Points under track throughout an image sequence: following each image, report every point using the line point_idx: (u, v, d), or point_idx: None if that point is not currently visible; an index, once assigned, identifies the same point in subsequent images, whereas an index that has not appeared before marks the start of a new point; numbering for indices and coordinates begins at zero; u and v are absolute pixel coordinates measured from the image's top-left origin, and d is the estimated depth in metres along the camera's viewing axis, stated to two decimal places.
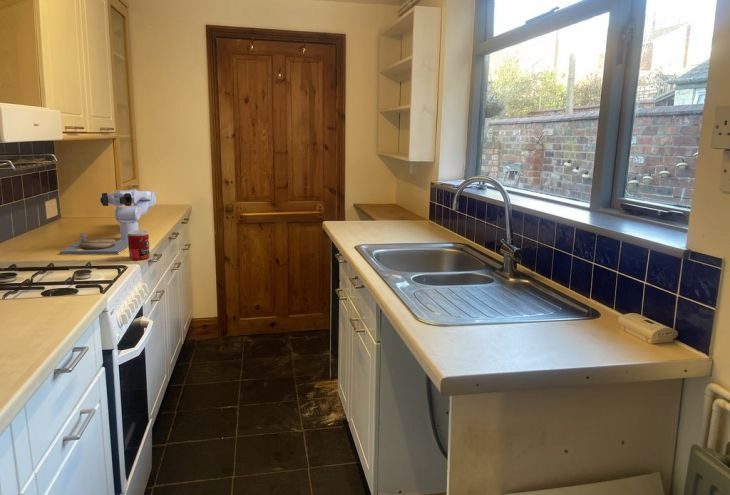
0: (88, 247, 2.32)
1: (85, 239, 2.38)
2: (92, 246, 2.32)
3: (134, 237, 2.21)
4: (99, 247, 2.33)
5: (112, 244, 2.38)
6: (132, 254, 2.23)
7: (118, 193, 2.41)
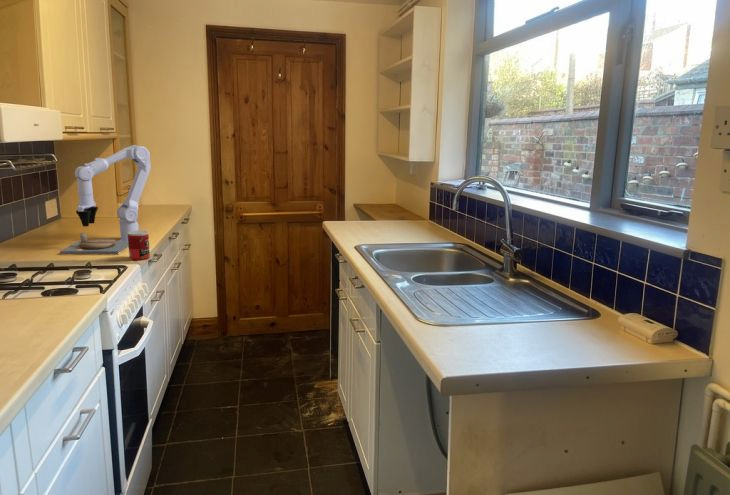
0: (88, 247, 2.32)
1: (85, 239, 2.38)
2: (92, 246, 2.32)
3: (134, 237, 2.21)
4: (99, 247, 2.33)
5: (112, 244, 2.38)
6: (132, 254, 2.23)
7: None
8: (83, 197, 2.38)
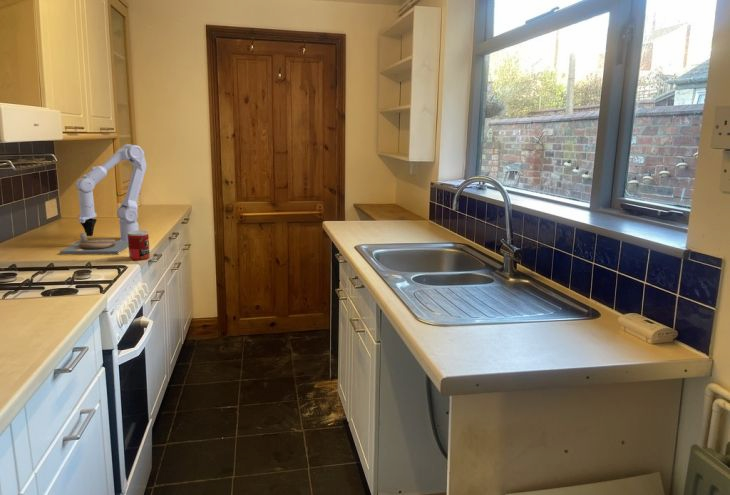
0: (88, 247, 2.32)
1: (85, 239, 2.38)
2: (92, 246, 2.32)
3: (134, 237, 2.21)
4: (99, 247, 2.33)
5: (112, 244, 2.38)
6: (132, 254, 2.23)
7: None
8: (84, 208, 2.39)
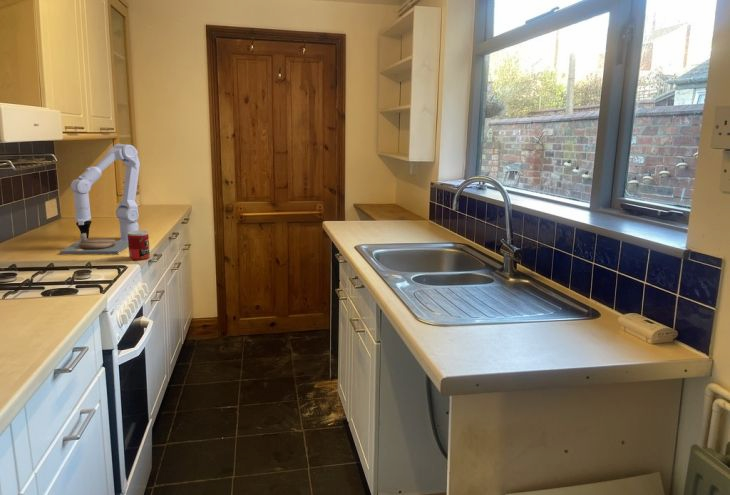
0: (88, 247, 2.32)
1: (85, 239, 2.38)
2: (92, 246, 2.32)
3: (134, 237, 2.21)
4: (99, 247, 2.33)
5: (112, 244, 2.38)
6: (132, 254, 2.23)
7: None
8: (81, 210, 2.35)
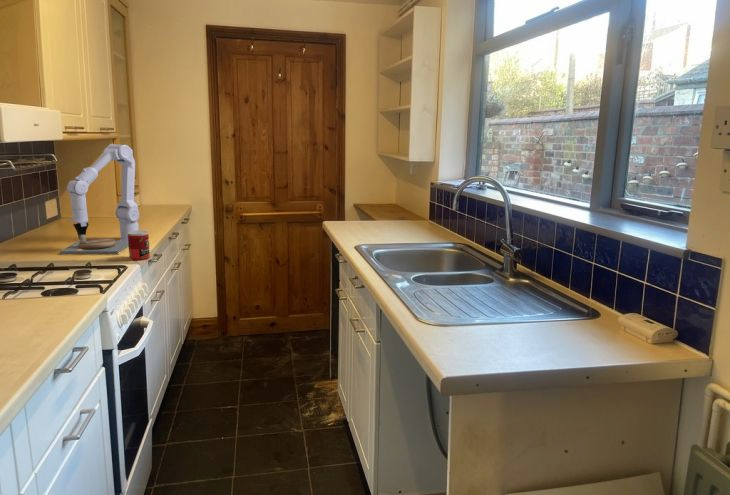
0: (98, 247, 2.33)
1: (85, 240, 2.35)
2: (102, 245, 2.34)
3: (134, 237, 2.21)
4: (108, 246, 2.36)
5: None
6: (132, 254, 2.23)
7: None
8: (80, 212, 2.32)
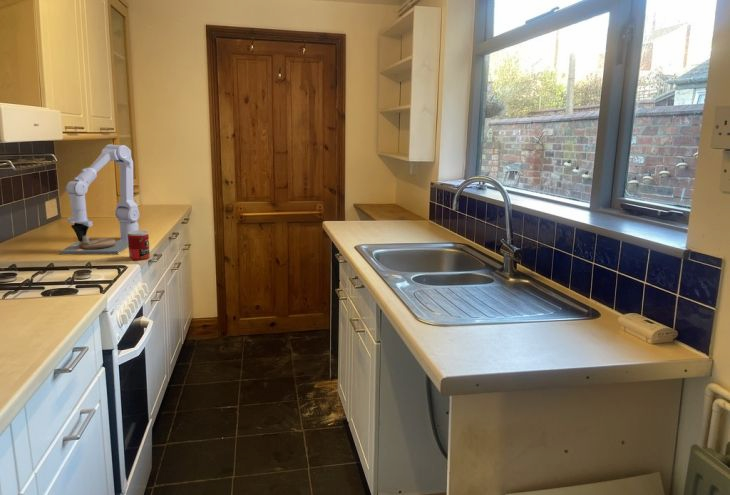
0: (106, 246, 2.35)
1: (89, 241, 2.34)
2: (109, 244, 2.37)
3: (134, 237, 2.21)
4: (113, 244, 2.39)
5: None
6: (132, 254, 2.23)
7: (74, 222, 2.31)
8: (83, 212, 2.31)
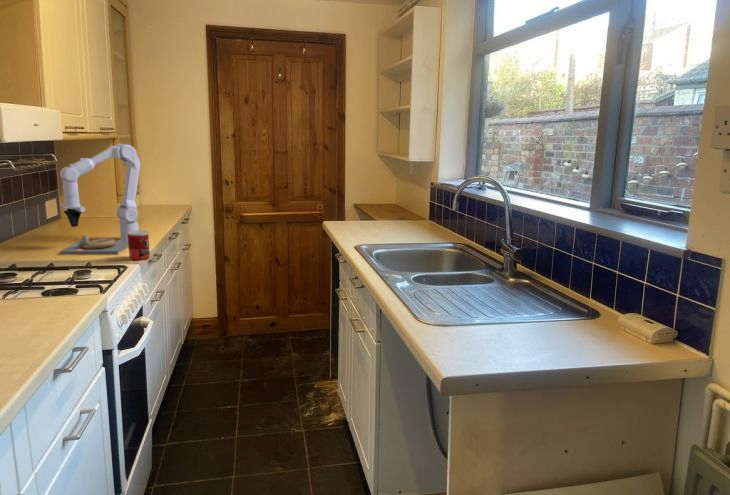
0: (106, 246, 2.35)
1: (89, 241, 2.34)
2: (109, 244, 2.37)
3: (134, 237, 2.21)
4: (113, 244, 2.39)
5: None
6: (132, 254, 2.23)
7: (67, 208, 2.35)
8: (75, 198, 2.35)
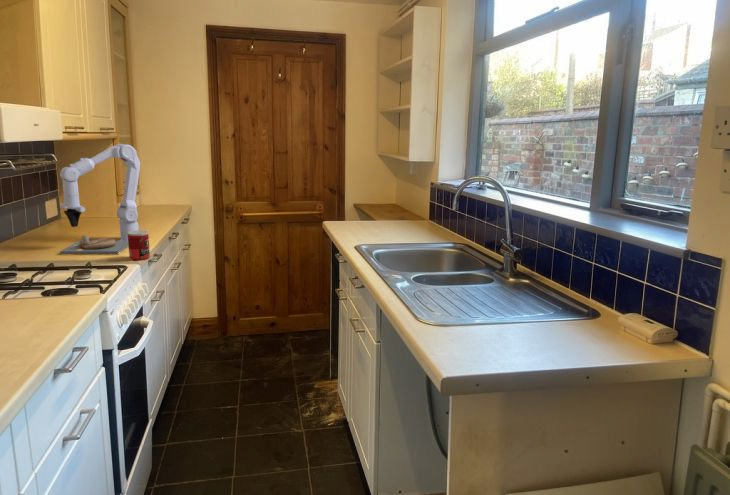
0: (106, 246, 2.35)
1: (89, 241, 2.34)
2: (109, 244, 2.37)
3: (134, 237, 2.21)
4: (113, 244, 2.39)
5: None
6: (132, 254, 2.23)
7: (67, 208, 2.35)
8: (75, 198, 2.35)
